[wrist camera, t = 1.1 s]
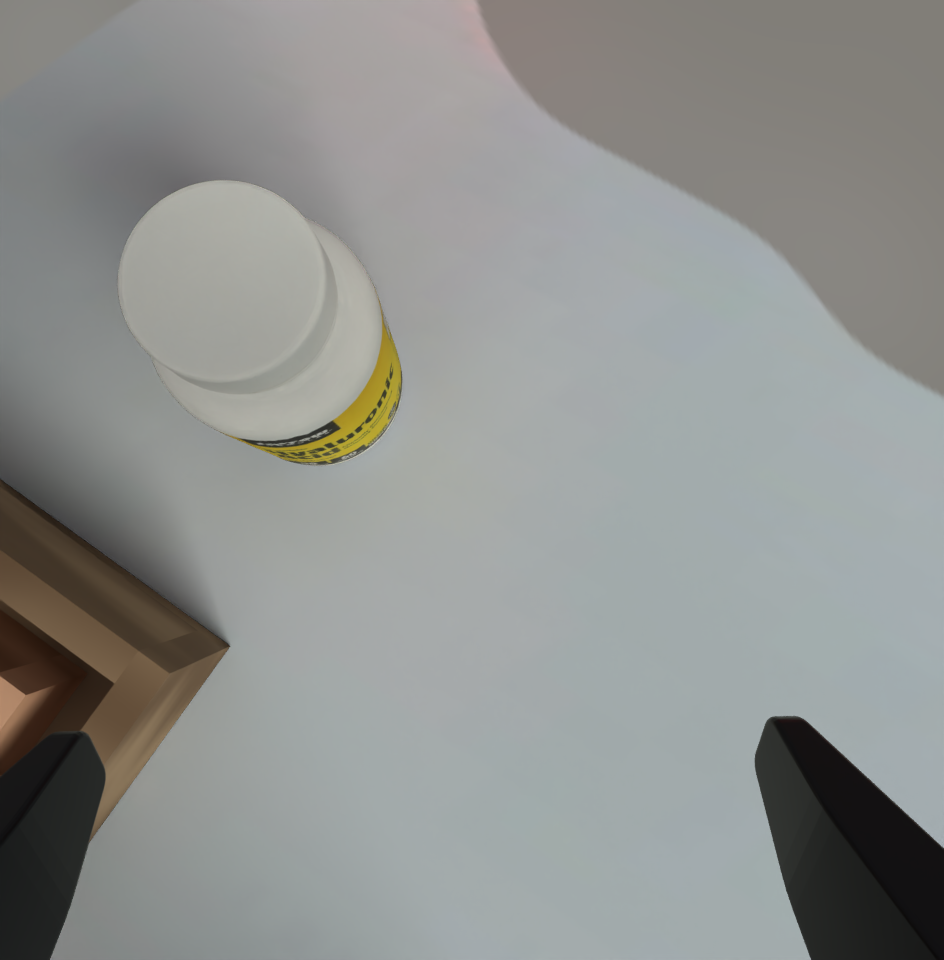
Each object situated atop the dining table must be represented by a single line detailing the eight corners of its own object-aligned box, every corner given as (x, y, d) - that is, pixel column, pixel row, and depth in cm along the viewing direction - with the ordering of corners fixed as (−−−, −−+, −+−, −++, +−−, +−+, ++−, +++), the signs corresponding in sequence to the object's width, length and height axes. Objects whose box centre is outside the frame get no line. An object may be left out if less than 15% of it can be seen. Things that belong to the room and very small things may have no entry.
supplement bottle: (297, 500, 23) (166, 472, 13) (210, 362, 23) (20, 234, 13) (437, 411, 23) (414, 317, 13) (350, 276, 23) (263, 88, 13)
